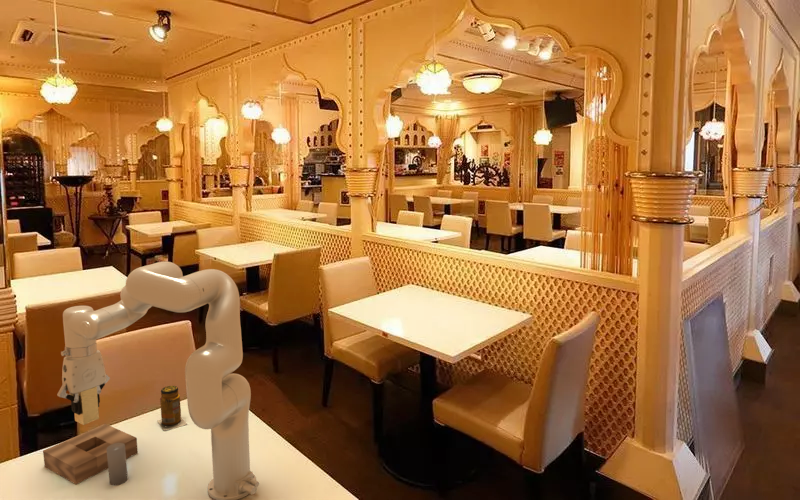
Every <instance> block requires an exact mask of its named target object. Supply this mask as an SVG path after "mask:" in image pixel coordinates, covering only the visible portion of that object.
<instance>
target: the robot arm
mask: <svg viewBox="0 0 800 500" xmlns="http://www.w3.org/2000/svg"><path fill="white" fill-rule="evenodd" d="M207 304H208V311H207V314H206V318H205V332H206V333H205V334H206V335H205V336H206V337H205V338H206V339H205V344H204V345H202V346H201V347H199V348H198V349H197V348H196V350H194V351H193V352H191V354H190V355H189V357H188V358H187V360H186V363H185V367H184V379H185V388H186V389H185V390H186V401H187V402H186V403H187V409H188V414H189V416H190V419H191V421H192V422H193V423H194V425H195V426H196V427H198V428H199V429H202V430H210V436H211V437H210V440H211V461H212V476H213V478H212V479H211V480H209V483H208V485H207V493H208V496H209V497H210V498H211V499H213V500H240V499H242V498H244V497H246V496H248V495H252V496H253V495H254V494H256V492H257V488H258V487H259V485H260V481H258V480H257V477H256V475H255V474H254V472H253V471H251V462H250V461H251V459H250V457H251V456H250V435H249V434H250V433H249V430H250V429H249V415H250V413H249V412H250V406H251V397H252V396H251V395H252V393H251V392H252V391H251V387H250V383H249V381H248V380H247V379H246V377H244V376H243V375H241V374H239V373H233V372H235V371H236V370H237V369H239V367H240V366H241V364H242V363H243V357H244V352H243V341H242V339H243V337H242V327H241V316H240V315H241V314H240V313H241V300H240V292H239V288H238V286H237V284H236V283H235V280H233V278H232V277H231V276H230V275H229V274H227V273H226V272H224V271H222V270H220V269H216V268H215V269H214V268H207V269H203V270H199V271H195V272H192V273H190V274H187V275H183V271H182V269H181V267H180V266H179V265H177V264H176V263H174V262H171V261H159V262H155V263H152V264H147V265H144V266H140V267H137V268H135V269H133V270H132V271H131V272H130V273H129V274H128V276H127V277H126V281H125V285H124V286H123V287H122V289H121V291H120V300H119V301H118V302H116V303H114V304H110V305H108V306H104V307H102V308H99V309H96V310H94V308H93V307H92V306H89V305H75V306H71V307H68V308H66V309H64V311H63V312H62V324H63V335H64V344H65V345H64V350H63V351H62V350H61V351H60V355H61V357H63V361H62V367H61V368H62V371H61V372H62V374H61V375H62V376H61V381H62V385H61V387H60V388H59V390H58V392H57V394H56V395H57V397H59V398H63V399H66V400H68V401H70V406H71V412H72V413H76V414H78V415H80V414H81V402H80V401H79V394H80V392H83V391H85V390H88V389H91V388H94V387H97V398H98V408H100V403H101V399H100V398H101V397H100V394H101V393H102V390H103V389H104V387H105V384H107V383H108V382H109V381H110V380H111V377H110V376H109V375H108V374H107V373H106V368H105V362H104V358H103V354H102V352H101V350H99V349H98V345H97V340H99V339H102V338H104V337H107V336H109V335H111V334H114V333H116V332H119V331H121V330H124V329H125V328H129V326H131V325H133V324H135V322H137V321H138V320H140V319H141V318H143V317H144V316H145V315H146V314H147V312H148V310H149V309H151V308H152V307H155V308H159V309H162V310H166V311H169V312H174V313H187V312H191V311H193V310H195V309H198V308H200V307H203V306H205V305H207ZM67 391H68V392H69V393H67Z"/></svg>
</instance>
